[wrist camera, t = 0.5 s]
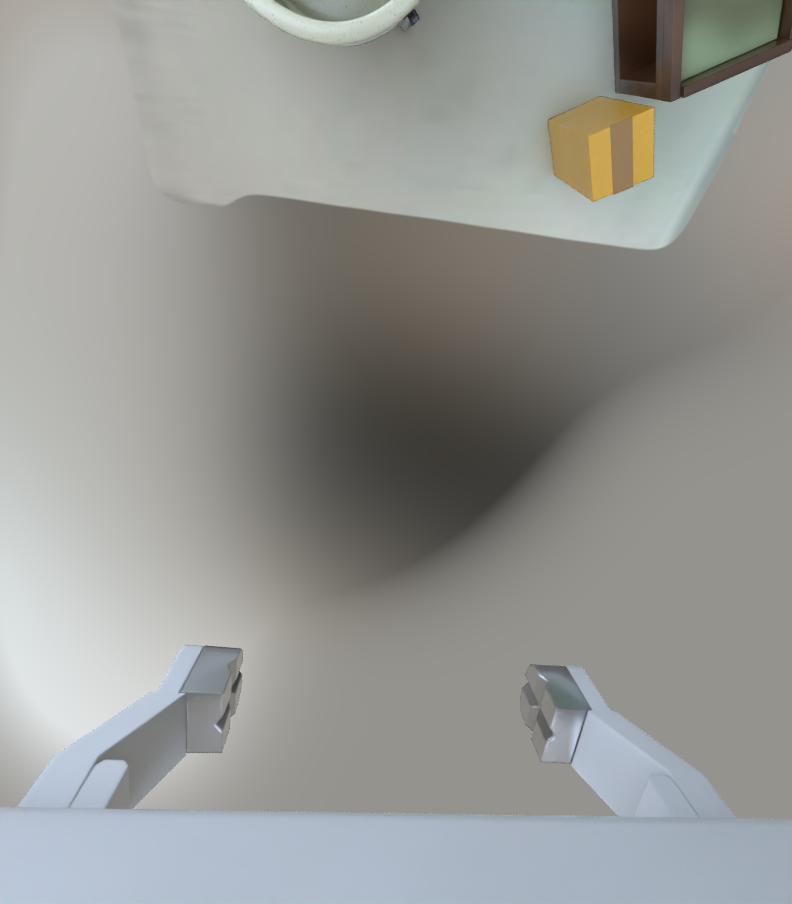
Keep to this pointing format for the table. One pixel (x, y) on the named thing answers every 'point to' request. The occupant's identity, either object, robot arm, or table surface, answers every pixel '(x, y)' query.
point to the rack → (694, 43)
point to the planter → (337, 18)
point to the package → (603, 146)
